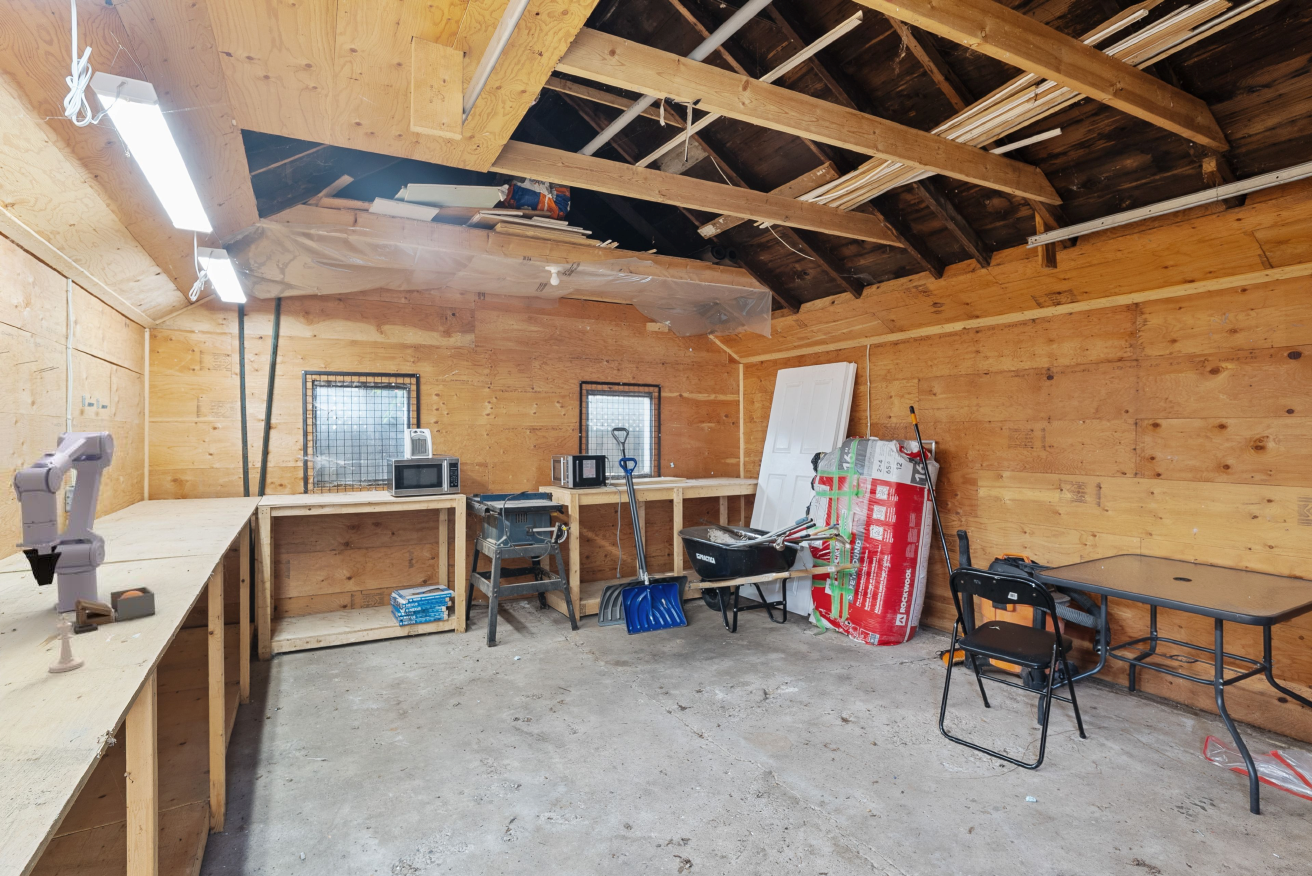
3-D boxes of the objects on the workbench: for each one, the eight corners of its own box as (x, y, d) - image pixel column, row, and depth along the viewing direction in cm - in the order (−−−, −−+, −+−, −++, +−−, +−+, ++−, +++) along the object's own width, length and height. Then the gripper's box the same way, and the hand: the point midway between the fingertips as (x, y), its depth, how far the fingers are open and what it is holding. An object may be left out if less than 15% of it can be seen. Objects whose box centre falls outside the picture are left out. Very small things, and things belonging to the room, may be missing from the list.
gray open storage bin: (109, 613, 152) (108, 592, 152) (147, 606, 157) (146, 586, 157) (116, 621, 146) (115, 599, 146) (155, 614, 152) (154, 593, 151)
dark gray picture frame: (73, 630, 141) (73, 626, 141) (95, 626, 143) (95, 622, 143) (76, 634, 138) (75, 630, 138) (98, 629, 141) (97, 626, 141)
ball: (131, 584, 154) (111, 601, 151) (135, 588, 150) (114, 605, 148) (148, 597, 156) (129, 614, 153) (153, 601, 153) (133, 619, 150)
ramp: (76, 620, 147) (74, 598, 147) (108, 614, 152) (107, 593, 152) (81, 628, 142) (79, 605, 142) (114, 621, 146) (113, 599, 146)
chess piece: (62, 673, 117) (59, 619, 117) (41, 671, 118) (38, 617, 118) (91, 662, 122) (88, 610, 122) (70, 661, 123) (67, 609, 123)
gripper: (12, 520, 145) (15, 580, 146) (17, 527, 135) (21, 591, 136) (54, 516, 150) (58, 573, 151) (62, 523, 140) (66, 584, 141)
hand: (43, 581), depth 144 cm, fingers open, 7 cm apart
